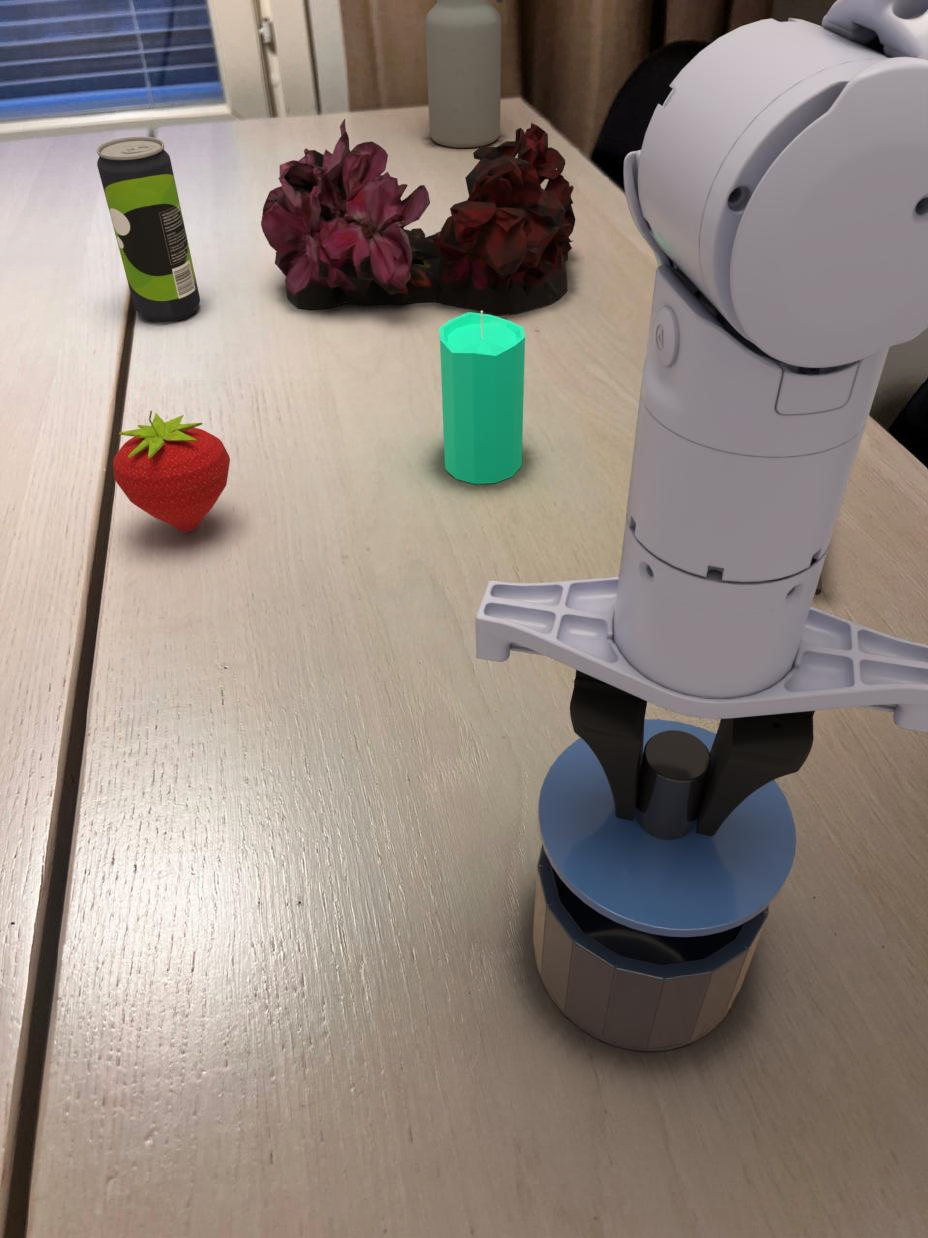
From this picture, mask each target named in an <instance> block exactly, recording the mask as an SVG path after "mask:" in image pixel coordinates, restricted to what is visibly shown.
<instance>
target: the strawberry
mask: <svg viewBox="0 0 928 1238" xmlns="http://www.w3.org/2000/svg"><path fill="white" fill-rule="evenodd" d="M152 413H153V410H150V411H149V416H148V422H149V424H150V425H146V424H138V425H137V428H135V429H131V430H130V429H129V430H124V431H120V432H118V435H119V436H125V437H131V438H130V439H128V440H127V441H126V442H124V443H123V444H122V446H121V447H120V449H119V450H117V452H116V453H115V455H114V457H113V460H112V464H113V465H112V466H113V477H114V481H115V482H116V484H117V486H118V487H119V488H120V489H121V491H122V492H123V494H124V495H125V496H126V498H127V500H128V501H129V502H130V503H132V504H133V505H135V506H136V507H137V508H138V509H140V510H142V511H143V512H145V513H146V514H148V515H150V516H151V517H153V519H157V520H158V521H160V522H163V523H164V524H165V523H166V524H168V525H169V526H171V527H173V528H174V529H175V530H177V531H180V532H184V533H185V532H186V533H187V532H192V531H194V530H196V529H198V527H199V526H200V525H201V522H202V521H203V519H204V518H205V517H206V516H207V515H208V513H210V511H211V510H212V509H213V508H214V506H215V504H216V503H217V501H218V500H219V498H220V497H221V495H222V493H223V492H224V490H225V488H226V487H227V484H228V478H229V471H230V464H231V463H230V462H231V458H230V455H229V452H228V451H227V449H226V447H225V445H224V443H223V442H222V440H221V439H220V438H219V437H217V436H216V435H214V434H212V433H210V432H208V431H206V430H204V429H203V428H199V427H200V426H202V425H203V422H190V423H189V422H188V423H181V422H182V419H183V417H184V414H182V415H180V416H177V417H174V418H172V419H170V420H167V421H165V420H163V418H161V416H159V414H158V413H157V412H155V414H154V416H153V420H152V415H153V414H152Z"/></svg>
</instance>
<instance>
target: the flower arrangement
mask: <svg viewBox="0 0 928 1238" xmlns="http://www.w3.org/2000/svg"><path fill="white" fill-rule="evenodd" d="M339 130H340V135H341V136H340V137H339V138H338V140H337V142H336V143H335V146H334V148H333V152H332V153H331V151H329V150H328V149H324V150H325V151H324V152H323V153H321V152H319V151H317V150H316V149H308V148H307V147H306V148H304V149H303V153H304V155H303V156H302V157H301V158H300V159H299V160H296V159H295V160H294V159H293V160H289V161H286V162H283V163H281V164H279V177H278V180H279V183H280V185H281V186H280V185H279V186H277V187H275V188H273V189H271V190H270V191H269V192H268V195H267V197H266V198H265V202H264V204H263V207H262V214H261V220H260V227H261V230H262V233H263V235H264V237H265V239H266V241H267V243H268V245H269V246H270V247H271V248H272V249H273V250H274V251H275V259H274V265H275V266H276V267H277V268H278V269H279V270H280V272H282V274H283V275H284V276H285V278H284V286H285V287H284V288H285V292H286V298H287V299H288V300H289V302H291V303H292V304H293V305H294V306H295V307H296V308H298V309H305V310H324V309H325V310H326V309H327V310H328V309H331V308H334V307H336V306H340V305H343V304H349V305H357V306H359V305H360V306H373V305H374V306H375V305H390V304H393V305H395V304H396V305H404V304H405V305H406V304H414V303H427V302H428V303H429V302H437V303H440V304H445V305H449V306H454V307H459V308H466V309H470V310H474V311H478V312H481V311H483V313H485V314H489V315H493V316H497V315H498V316H499V315H502V316H503V315H517V314H520V313H523V312H524V313H525V312H528V311H531V310H535V309H539V308H542V307H547V306H550V305H552V304H553V303H555V302H557V301H559V300H561V299H562V297H564V295H565V294H566V292H567V291H568V276H567V269H566V264H565V262H566V261H567V260H568V259H569V252H570V251H571V250H572V249H573V247H572V245H571V243H572V242H574V240H571V239H570V236H571V235H572V233H574V229H575V226H576V225H575V224H576V215H575V213H574V209H573V204H574V201H573V199H572V194H573V192H574V189H575V187H574V186H573V184H572V185H570V182H569V181H568V180H567V179H566V178H565V177H564V175H562V174H563V172H564V169H565V166H566V164H567V163H566V159H565V157H564V156H563V155H562V154H561V153H560V151H559V150H558V149H556V148H554V147H549V134H548V132H546V130H544V129H543V128H542V127H540V126H539V125H537V124H536V123H533V122H531V123H530V127H529V128H526V130H525V132H524V129H523V128H522V127H519V128H517V129H515V140H506V141H504V142H502V143H500V144H499V145H496V146H489V145H484V146H480V147H477V149H476V150H474V151H473V153H472V155H473V159H474V160H478V162H477V163H476V165H475V166H474V167H473V168H472V170H470V172H469V173H468V174H467V175H466V176H465V177H464V178H465V179H464V180H465V183H466V189H467V193H468V198H467V199H466V200H463V201H460V202H457V203H454V204H453V205H452V206H451V207H450V208H449V211H450V216H448V217H447V218H446V219H445V221H444V224H442V227H441V228H440V231H437V232H435V233H434V234H431V235H427V236H426V233H425V232H424V230H423V229H422V228H421V227H418V228H412V229H406V228H405V227H407V226H409V225H411V224H412V223H414V222H417V221H419V220H420V219H421V217H422V216H423V215H424V213H425V211H426V210H427V209H428V208H429V206H430V205H431V199H430V193H429V191H428V189H427V187H426V185H425V184H420V185H419V186H417V188H415V189H414V190H413V191H412V192H411V193H410V194H409V195H408V196H407V197H405V198H403V200H402V196H403V195H404V193H405V192H406V189H407V187H409V186H408V183H407V184H406V183H401V184H399V181H398V178H397V177H394V176H391V174H390V173H389V171H386V169H387V164H388V158H389V155H388V153H387V151H386V149H385V148H383V147H382V146H380V145H379V144H378V143H376V142H374V141H364V142H361V143H358V144H356V145H355V146H354V147H353V148H352V149H350V137H349V135H348V131H347V127H346V118H344V119H343V120H342V122H341V123H340V125H339ZM385 171H386V172H385ZM545 180H547V183H546V185H545V187H544V188H543V187H542V184H543V183H544V182H545Z"/></svg>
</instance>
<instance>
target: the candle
mask: <svg viewBox="0 0 928 1238" xmlns="http://www.w3.org/2000/svg"><path fill="white" fill-rule="evenodd" d="M439 349H440V350H439V351H440V377H441V378H440V380H441V404H442V405H441V407H442V430H443V431H442V432H443V455H444V456H443V457H444V458H443V459H444V470H445V471H447V472H448V474H450V475H451V476H453V478H454V479H456V480H460V481H461V482H466V483H470V484H474V485H482V484H484V485H485V484H497V483H499V482H503V481H505V480H507V479H510V478H513V477H514V476H515V474H516V473H518V471H519V470H520V469H521V468H522V467H523V462H522V461H523V435H524V433H523V432H524V431H523V429H524V392H525V390H524V389H525V360H526V359H525V355H526V334H525V329H524V327H523V326H521V325H519V324H517V323H515V322H513V321H511V320H508V319H505V318H501V317H499V316H497V315H494V314H489V313H484V312H483V311H480V313H479V312H471V311H468V312H465V313H463V314H461V315H459V316H456V317H454V318H451V319H449V320H448V321H447V322H445V323H444V324H443V325H442V326H440V327H439Z"/></svg>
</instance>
